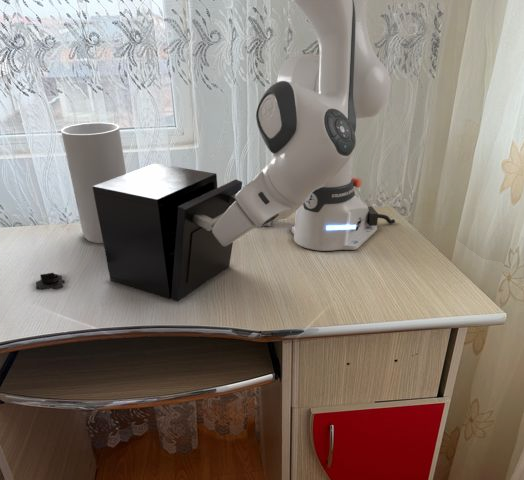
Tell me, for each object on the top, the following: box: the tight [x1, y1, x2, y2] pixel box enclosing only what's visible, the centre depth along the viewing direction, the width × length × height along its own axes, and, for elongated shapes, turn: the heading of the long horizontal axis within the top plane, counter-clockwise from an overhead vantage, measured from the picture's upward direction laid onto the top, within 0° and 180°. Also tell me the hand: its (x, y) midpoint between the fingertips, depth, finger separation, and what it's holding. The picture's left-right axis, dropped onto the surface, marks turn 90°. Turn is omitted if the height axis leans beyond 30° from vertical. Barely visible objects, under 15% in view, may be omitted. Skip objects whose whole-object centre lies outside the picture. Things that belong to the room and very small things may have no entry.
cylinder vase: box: [60, 122, 127, 244], centre depth 127 cm, size 12×12×25 cm
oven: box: [92, 163, 218, 300], centre depth 110 cm, size 16×18×20 cm
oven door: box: [170, 178, 243, 302], centre depth 104 cm, size 6×18×20 cm, turn 148°
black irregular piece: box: [35, 272, 65, 291], centre depth 111 cm, size 6×2×6 cm
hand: (232, 235), depth 101 cm, fingers closed
